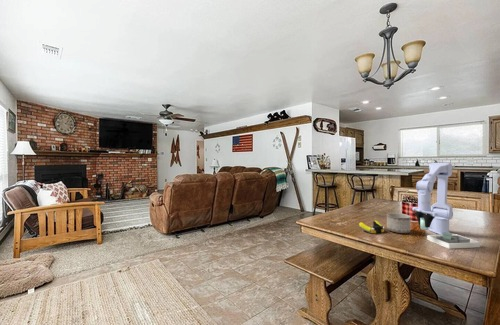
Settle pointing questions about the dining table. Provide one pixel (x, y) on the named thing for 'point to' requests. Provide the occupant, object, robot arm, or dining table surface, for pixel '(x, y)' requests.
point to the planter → (398, 222)
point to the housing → (453, 241)
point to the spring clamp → (375, 229)
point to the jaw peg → (423, 224)
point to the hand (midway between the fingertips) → (424, 226)
